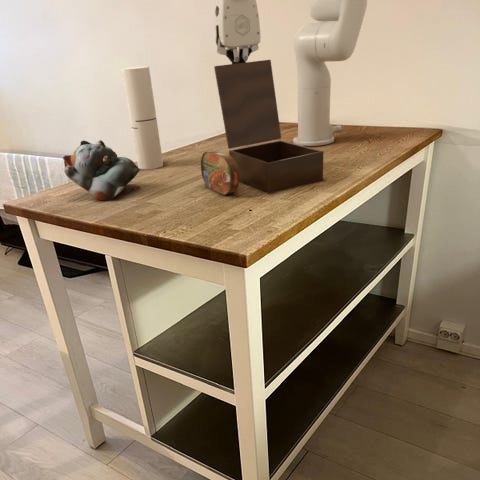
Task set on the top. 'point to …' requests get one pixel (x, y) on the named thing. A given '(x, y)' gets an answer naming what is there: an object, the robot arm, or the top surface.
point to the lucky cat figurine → (99, 170)
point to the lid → (248, 103)
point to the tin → (220, 172)
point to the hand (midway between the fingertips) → (239, 79)
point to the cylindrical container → (142, 116)
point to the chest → (278, 165)
